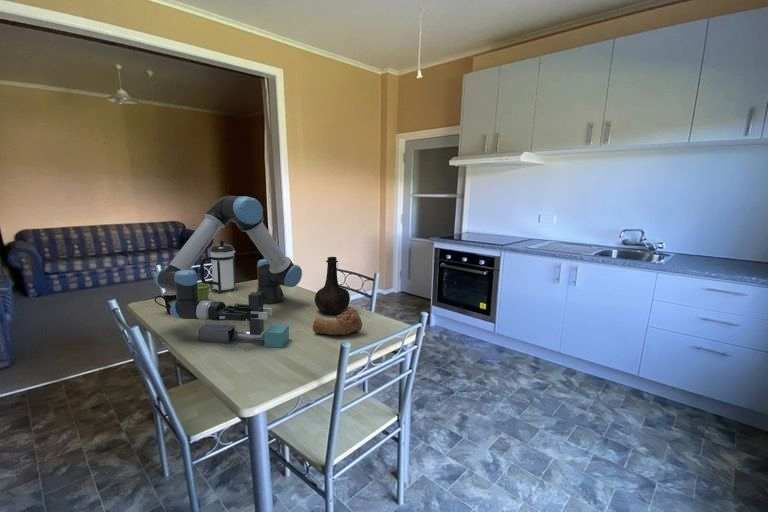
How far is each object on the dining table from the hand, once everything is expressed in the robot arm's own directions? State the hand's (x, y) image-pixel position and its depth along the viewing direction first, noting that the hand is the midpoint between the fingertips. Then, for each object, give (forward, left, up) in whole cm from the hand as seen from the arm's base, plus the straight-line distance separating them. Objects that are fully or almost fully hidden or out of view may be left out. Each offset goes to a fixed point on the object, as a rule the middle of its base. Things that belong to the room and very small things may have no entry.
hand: (269, 313), depth 136 cm
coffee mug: (+23, -60, -12) cm, 66 cm away
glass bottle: (-40, -16, -12) cm, 45 cm away
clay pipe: (-28, +9, -12) cm, 31 cm away
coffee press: (-7, -83, -12) cm, 84 cm away
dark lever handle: (+6, -6, -11) cm, 14 cm away
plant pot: (+8, -69, -12) cm, 71 cm away
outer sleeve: (+15, -15, -12) cm, 25 cm away
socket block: (-2, +2, -12) cm, 12 cm away
